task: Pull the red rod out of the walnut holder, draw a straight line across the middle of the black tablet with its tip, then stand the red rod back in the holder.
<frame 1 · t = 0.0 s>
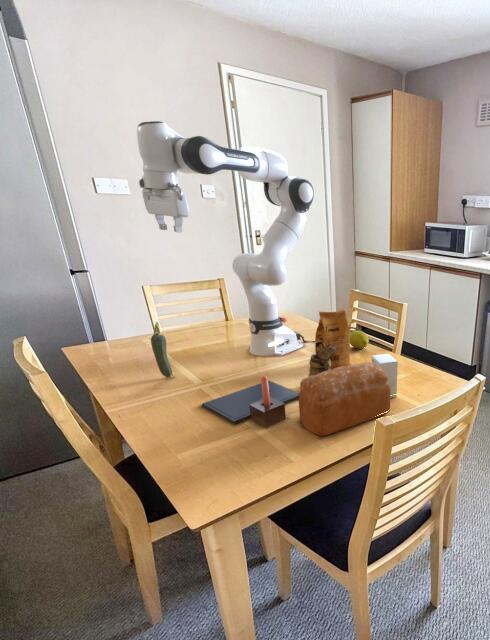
hand: (170, 231, 130), 48 cm above the table, tool pointing down, fingers open, 8 cm apart
red rod: (266, 398, 116), in the holder
bread: (346, 417, 123), on the table
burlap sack: (323, 389, 140), on the table
vegetable: (166, 379, 141), on the table
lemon: (358, 348, 181), on the table
holder: (268, 419, 119), on the table
coffee package: (332, 365, 161), on the table
tablet: (253, 401, 129), on the table
small box: (383, 394, 139), on the table
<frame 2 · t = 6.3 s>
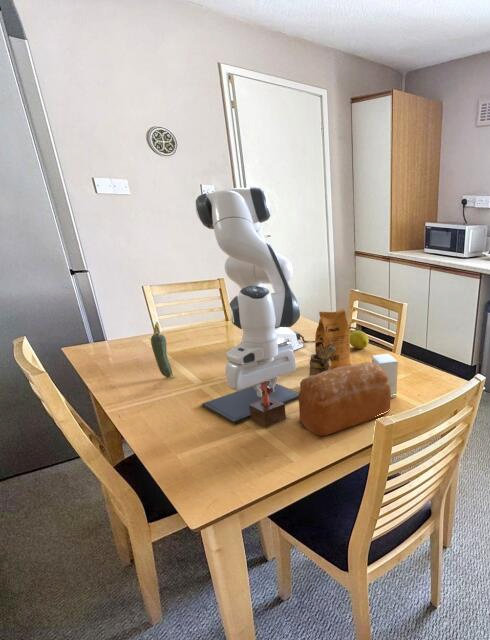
hand: (265, 394, 116), 8 cm above the table, tool pointing down, fingers closed on red rod, 2 cm apart
red rod: (265, 397, 117), in the holder, touching gripper
everything else where it was.
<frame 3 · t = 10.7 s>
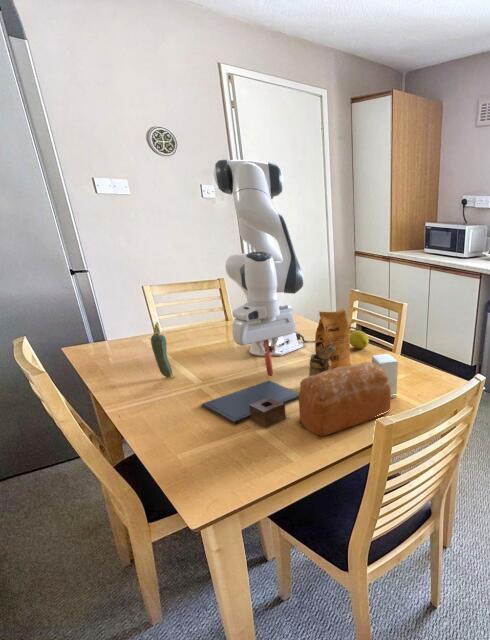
hand: (268, 352, 128), 15 cm above the table, tool pointing down, fingers closed on red rod
red rod: (267, 355, 129), point 14 cm above the table, tilted 5°, touching gripper
everything else where it was.
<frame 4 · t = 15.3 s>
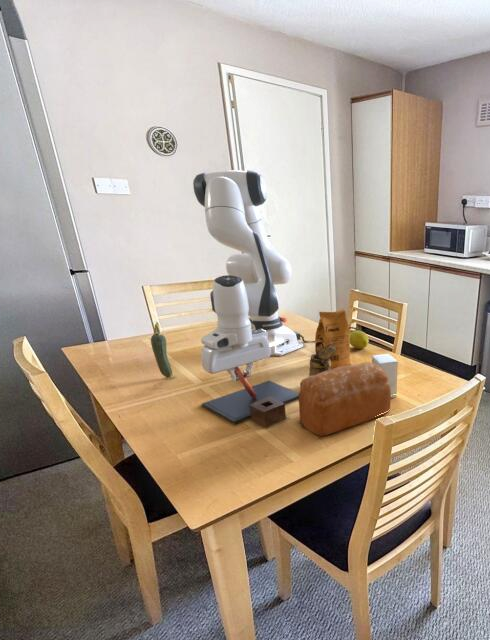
hand: (241, 378, 123), 9 cm above the table, tool pointing down, fingers closed on red rod, 2 cm apart
red rod: (244, 381, 125), point 8 cm above the table, tilted 24°, touching gripper, tablet
everything else where it was.
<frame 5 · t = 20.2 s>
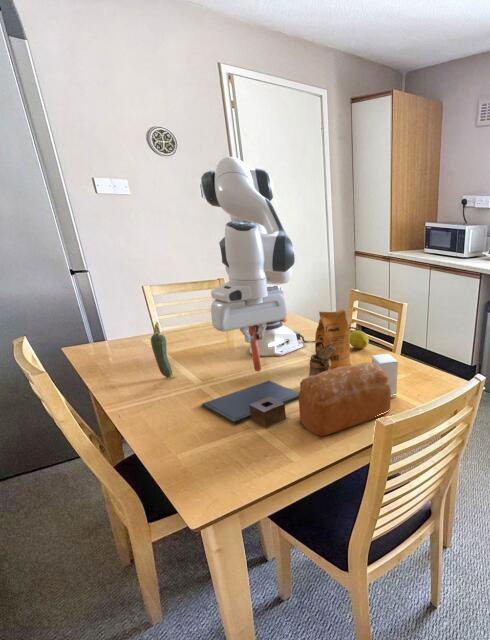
hand: (254, 340, 110), 24 cm above the table, tool pointing down, fingers closed on red rod
red rod: (254, 347, 111), point 22 cm above the table, touching gripper
everything else where it was.
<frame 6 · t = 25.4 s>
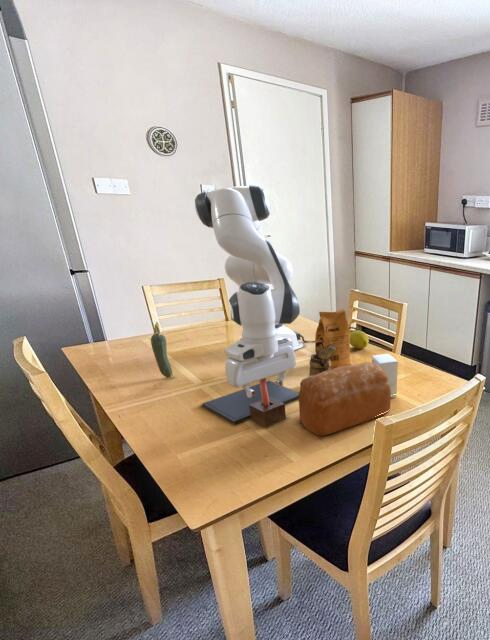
hand: (265, 391, 116), 9 cm above the table, tool pointing down, fingers open, 8 cm apart
red rod: (265, 397, 117), in the holder, tilted 5°
everything else where it was.
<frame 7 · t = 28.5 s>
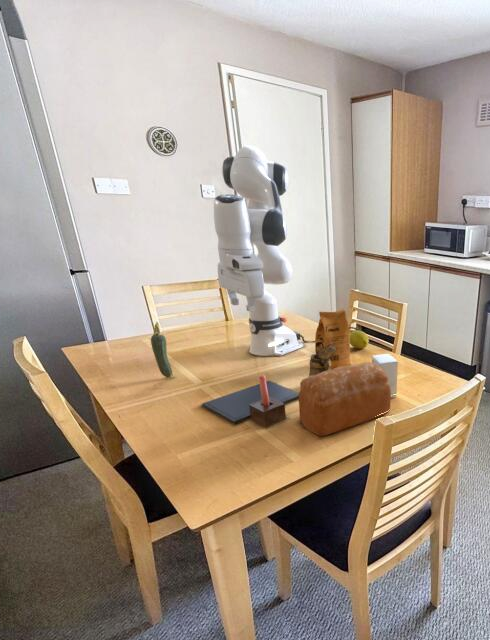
hand: (242, 308, 119), 30 cm above the table, tool pointing down, fingers open, 8 cm apart
nothing on the table moved.
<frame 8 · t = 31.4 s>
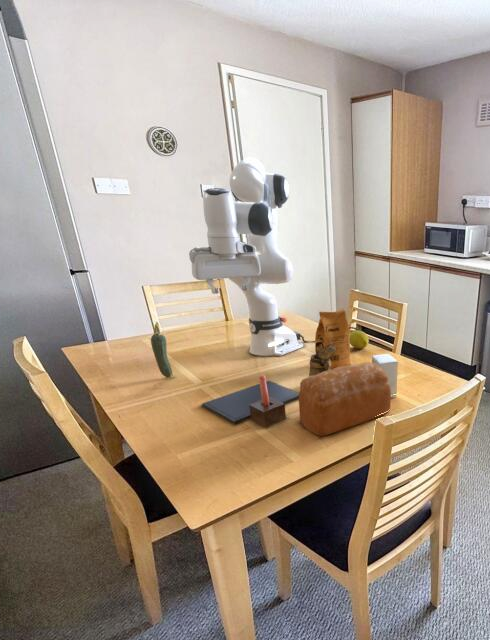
hand: (230, 291, 130), 31 cm above the table, tool pointing down, fingers open, 8 cm apart
nothing on the table moved.
at the end: red rod 0.0 cm off-centre on the holder, point 6.9 cm above the holder's base; red rod tilted 5°; the gripper is holding nothing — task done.
